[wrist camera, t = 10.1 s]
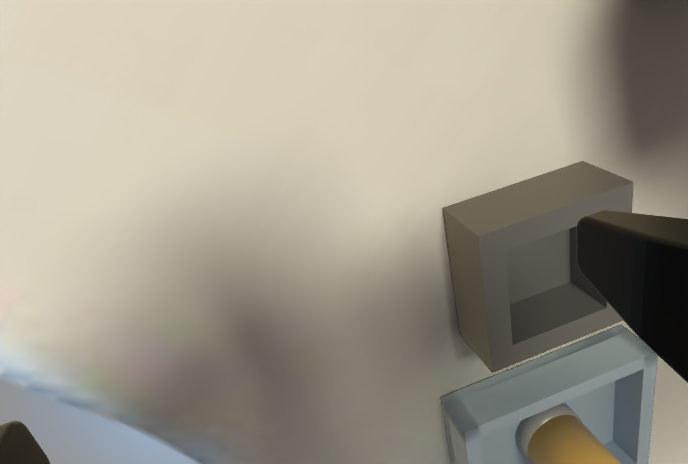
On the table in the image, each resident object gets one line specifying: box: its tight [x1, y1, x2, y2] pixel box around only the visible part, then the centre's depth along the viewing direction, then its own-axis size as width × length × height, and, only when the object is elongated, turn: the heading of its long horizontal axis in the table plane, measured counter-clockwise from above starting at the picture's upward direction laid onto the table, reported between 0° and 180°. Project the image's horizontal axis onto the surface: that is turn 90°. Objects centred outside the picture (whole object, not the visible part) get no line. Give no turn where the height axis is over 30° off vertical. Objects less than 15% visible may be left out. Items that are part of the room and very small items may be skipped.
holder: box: [443, 161, 633, 373], centre depth 24 cm, size 7×7×3 cm
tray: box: [441, 325, 658, 464], centre depth 29 cm, size 11×9×2 cm
